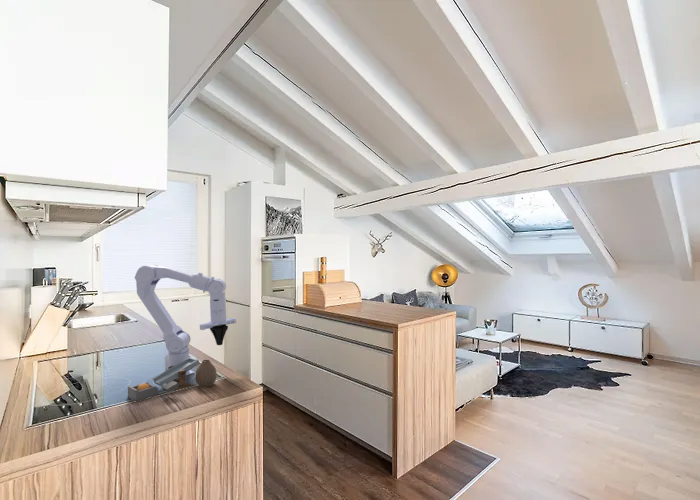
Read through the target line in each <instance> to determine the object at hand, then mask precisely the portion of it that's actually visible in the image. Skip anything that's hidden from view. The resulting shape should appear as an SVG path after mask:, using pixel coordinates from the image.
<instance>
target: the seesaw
mask: <svg viewBox="0 0 700 500" xmlns="http://www.w3.org/2000/svg"><path fill="white" fill-rule="evenodd" d="M200 365H201V362H200V361H199V359H198V358H197V357H193V356H189V358H187V359H186V360H184V361H182V362H180V363H179V364H177V365H175V366H173V367H172V368H170V369H168V370H166V371H165V370H164V371H163V372H161V373H159V374H158V375H156V376H154V377H152V381H153V384H155V385H157V386H160V387H161V389H162V391H163V392H165V393H167V394H169V393H171V392H173V391H175V390H174V389H176V388H178V387H179V382H178V383H177V382H175V381H172V380H174V379H176V378H177V377H179V371H180V370H184V369H185V370H186V372H187V371H189V370H191V371H192V369H194V368H196V367H197V366H200ZM167 383H168V384H167Z"/></svg>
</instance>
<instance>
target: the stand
mask: <svg viewBox="0 0 700 500" xmlns="http://www.w3.org/2000/svg"><path fill="white" fill-rule="evenodd" d="M172 367H173V366H170V367H168V369H170V368H172ZM172 381H175V382H177V383H178V385H179V387H178V388H176V389H174V390H173V391H176V390H178V391H180V390H179V389H181V390H184V389H186V387H187V388H190V387H192V383H190V382H187V375H186V370H185V369H184V370H180V371H179V378H176V379H174V380H172ZM167 384H168V383H167ZM189 386H190V387H189ZM183 388H184V389H183Z"/></svg>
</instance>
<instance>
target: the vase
mask: <svg viewBox="0 0 700 500" xmlns="http://www.w3.org/2000/svg"><path fill="white" fill-rule="evenodd" d="M217 376H218V373H217V369H216V367H215V365H213V363H212V362H211V361H210V359H203V360H201V362H200V364H199V365H198V368H197V369H196V371H195V382H196V384H197V385H198V387H200V388H202V387H206V388H210V387H211V386H213V385H214V384H215V382H216V380H217Z"/></svg>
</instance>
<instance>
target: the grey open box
mask: <svg viewBox="0 0 700 500" xmlns="http://www.w3.org/2000/svg"><path fill="white" fill-rule="evenodd" d="M145 383H146V384H148V385H149V387H150V388H147V389H144V390H140V391H138V390H137V389H138V386H139V385H141V384H142V383H140V384H137V385H133V386H132V385H128V386H127V397H128V398H129V399H131V400H132V401H134V402H135V401H136V402H140V400H141V401H143V400H146V399H150V398H153V397H156V396H158V395H159V387H158V386H156V385H154V384H153V383H149V382H148V381H147V382H145ZM136 402H135V403H136Z"/></svg>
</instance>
